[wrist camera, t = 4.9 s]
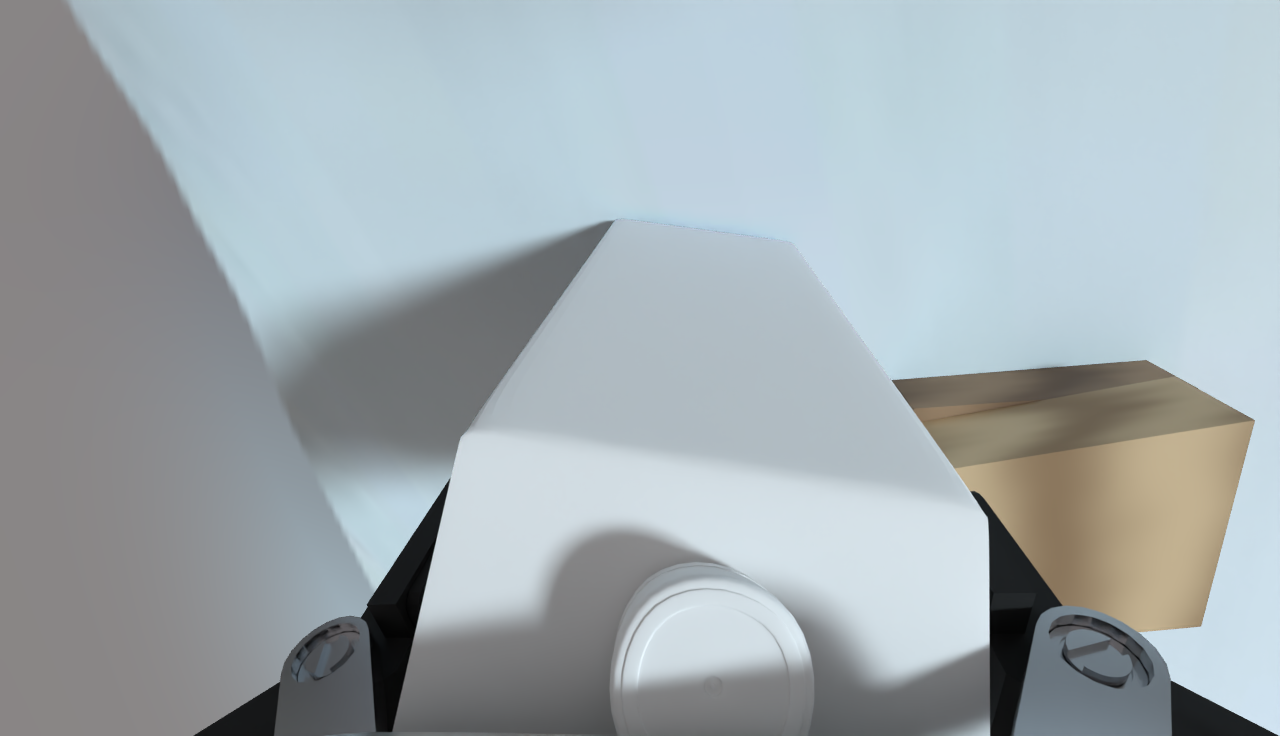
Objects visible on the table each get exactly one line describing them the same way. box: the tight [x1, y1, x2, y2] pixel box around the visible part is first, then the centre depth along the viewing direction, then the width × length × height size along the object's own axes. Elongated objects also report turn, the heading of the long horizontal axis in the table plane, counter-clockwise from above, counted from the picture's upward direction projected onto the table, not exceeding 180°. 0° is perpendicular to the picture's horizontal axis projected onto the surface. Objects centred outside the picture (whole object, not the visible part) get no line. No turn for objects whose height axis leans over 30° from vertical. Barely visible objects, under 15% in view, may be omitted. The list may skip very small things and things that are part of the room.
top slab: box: [921, 376, 1255, 632], centre depth 21 cm, size 10×10×3 cm
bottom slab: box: [892, 360, 1198, 422], centre depth 23 cm, size 10×10×3 cm
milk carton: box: [392, 219, 990, 736], centre depth 13 cm, size 7×7×19 cm
